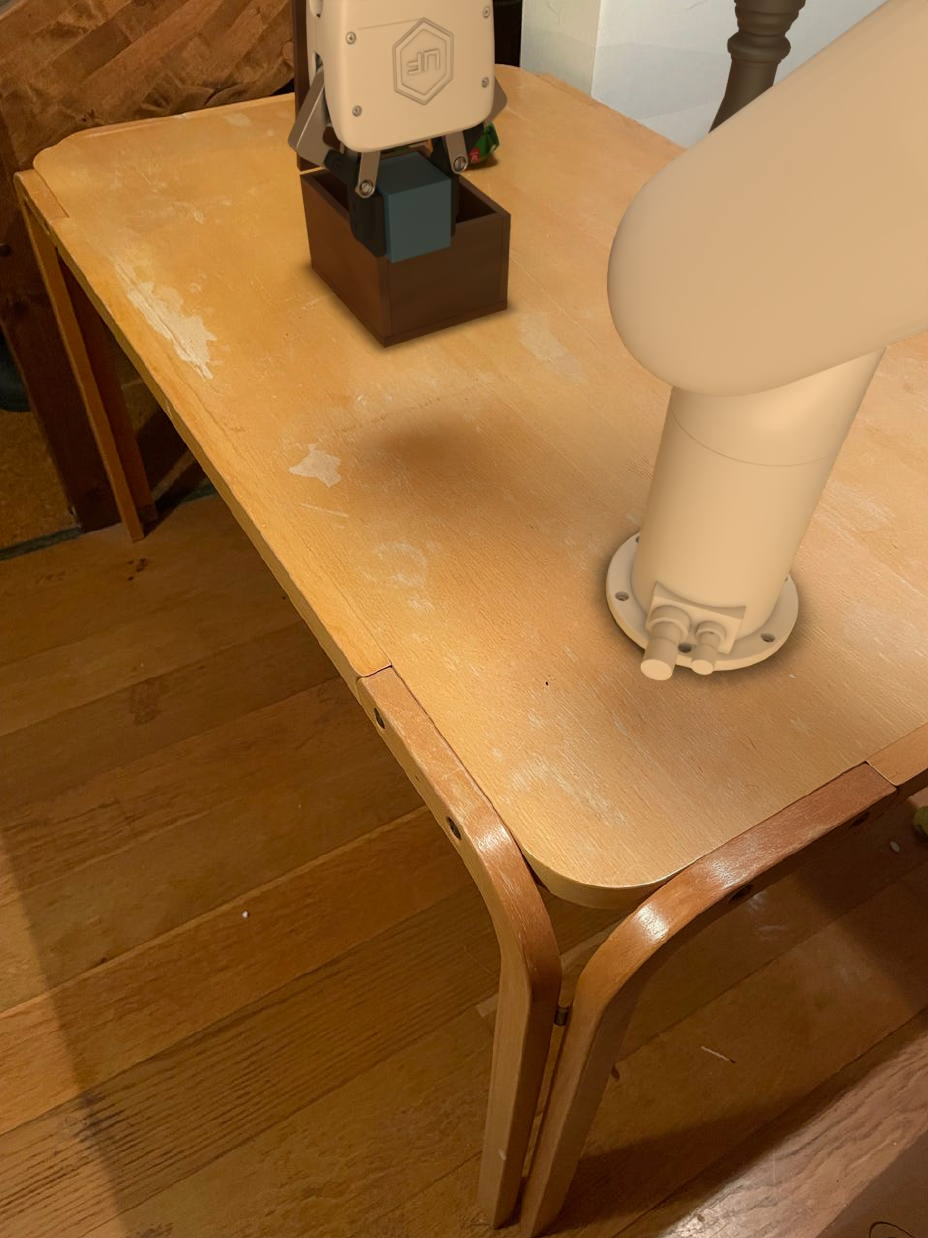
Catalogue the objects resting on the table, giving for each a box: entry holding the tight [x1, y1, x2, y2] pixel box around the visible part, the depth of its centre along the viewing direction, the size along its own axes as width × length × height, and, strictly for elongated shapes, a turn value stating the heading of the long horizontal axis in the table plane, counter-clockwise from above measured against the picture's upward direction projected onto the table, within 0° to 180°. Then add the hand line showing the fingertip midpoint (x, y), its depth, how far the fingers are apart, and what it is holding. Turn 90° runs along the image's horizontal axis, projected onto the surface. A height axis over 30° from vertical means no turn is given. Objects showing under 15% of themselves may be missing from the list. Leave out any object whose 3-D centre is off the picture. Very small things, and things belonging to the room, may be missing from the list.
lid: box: [291, 0, 425, 173], centre depth 76 cm, size 17×13×6 cm
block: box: [376, 152, 451, 263], centre depth 57 cm, size 4×4×4 cm
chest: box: [299, 145, 512, 348], centre depth 82 cm, size 16×13×9 cm
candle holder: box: [707, 0, 807, 134], centre depth 79 cm, size 6×6×25 cm
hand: (405, 234), depth 59 cm, fingers closed on block, 4 cm apart
